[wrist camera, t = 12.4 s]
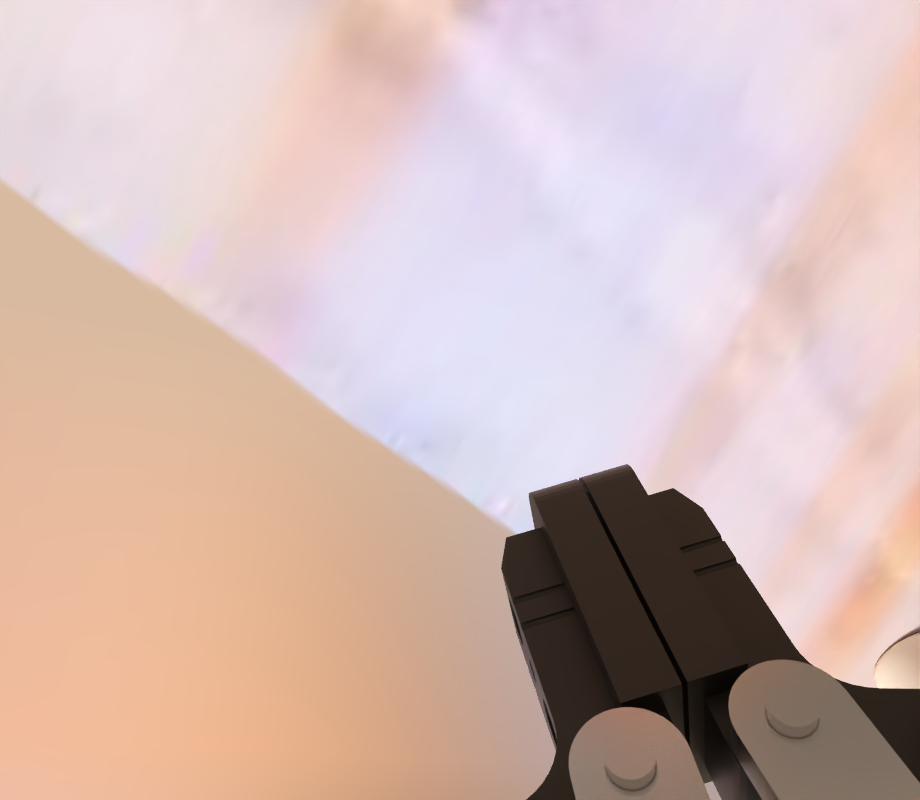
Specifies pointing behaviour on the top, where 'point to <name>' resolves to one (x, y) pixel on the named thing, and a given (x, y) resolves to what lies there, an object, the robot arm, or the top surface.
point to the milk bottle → (900, 665)
